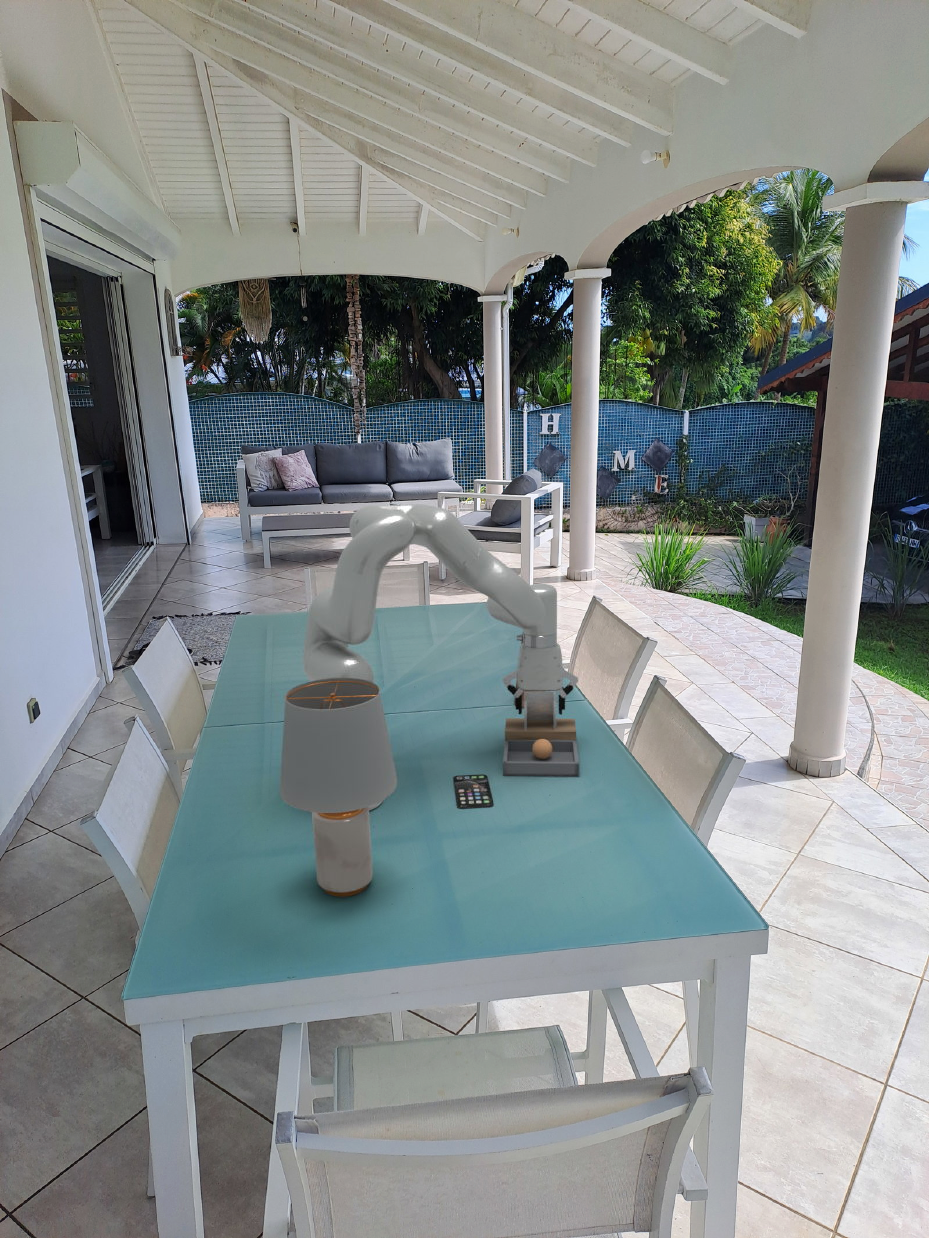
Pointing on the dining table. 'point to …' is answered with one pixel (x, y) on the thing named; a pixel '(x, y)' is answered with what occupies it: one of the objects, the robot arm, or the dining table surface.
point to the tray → (527, 764)
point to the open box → (539, 706)
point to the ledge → (540, 729)
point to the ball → (542, 748)
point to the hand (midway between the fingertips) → (540, 712)
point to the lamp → (337, 773)
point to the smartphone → (472, 791)
